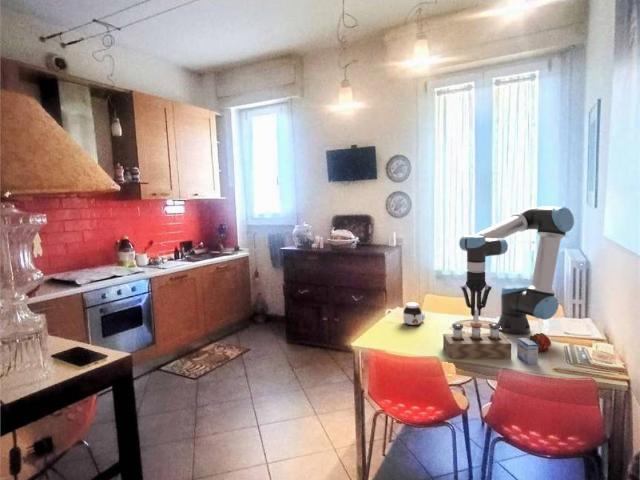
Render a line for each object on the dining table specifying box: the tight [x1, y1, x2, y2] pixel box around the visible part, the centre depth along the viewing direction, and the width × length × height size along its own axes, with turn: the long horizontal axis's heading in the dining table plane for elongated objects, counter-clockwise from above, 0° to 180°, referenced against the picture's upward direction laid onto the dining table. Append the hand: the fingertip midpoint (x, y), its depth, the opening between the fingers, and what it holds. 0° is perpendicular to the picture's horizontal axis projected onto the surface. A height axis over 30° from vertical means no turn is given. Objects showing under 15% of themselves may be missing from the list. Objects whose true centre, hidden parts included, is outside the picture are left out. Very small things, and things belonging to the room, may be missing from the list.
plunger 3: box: [488, 322, 500, 341], centre depth 171 cm, size 5×5×9 cm
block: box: [442, 332, 512, 360], centre depth 172 cm, size 26×12×7 cm, turn 85°
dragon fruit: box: [528, 332, 552, 353], centre depth 173 cm, size 8×8×12 cm
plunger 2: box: [470, 321, 482, 341], centre depth 172 cm, size 5×5×9 cm
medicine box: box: [516, 337, 539, 366], centre depth 163 cm, size 8×4×9 cm, turn 5°
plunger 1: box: [451, 322, 464, 341], centre depth 172 cm, size 5×5×9 cm
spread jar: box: [402, 301, 426, 327], centre depth 215 cm, size 12×11×12 cm
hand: (475, 322), depth 171 cm, fingers closed
